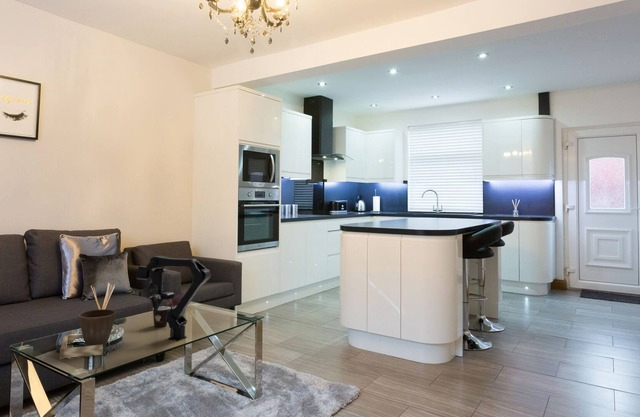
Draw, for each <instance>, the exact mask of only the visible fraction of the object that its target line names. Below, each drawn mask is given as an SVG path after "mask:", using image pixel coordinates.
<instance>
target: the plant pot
mask: <svg viewBox="0 0 640 417" xmlns="http://www.w3.org/2000/svg"><path fill="white" fill-rule="evenodd" d="M115 317H116V310H113V309H108V308H107V309H92V310H87V311H83V312H80V313H79V314H78V319H79V325H80V330H81V334H82V335H83V338H84V341H85V343H84V344H85V346H92V345H102V344H103V349H104V348H106V346H107V345H108V342H109V339H110V336H111V334H112V330H113V327H114V323H115Z"/></svg>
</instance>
